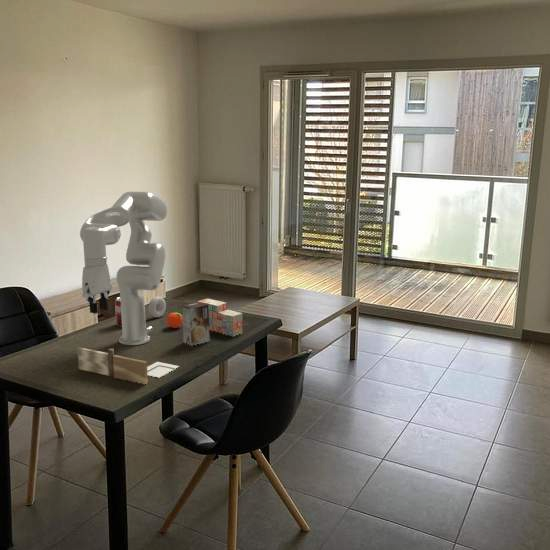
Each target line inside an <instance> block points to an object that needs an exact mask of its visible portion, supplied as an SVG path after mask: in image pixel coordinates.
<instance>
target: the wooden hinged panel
mask: <svg viewBox="0 0 550 550" xmlns="http://www.w3.org/2000/svg"><path fill="white" fill-rule="evenodd" d="M107 353H108V360H109V378H115V379H118V378H119V379H120V380H123V381H127V380H128V381H129V382H133V383H136V382H137V383H136V384H141V383H142V384H141V385H145V384H146V385H148V384H149V376H148V373H147V367H148V362H147V361H146V360H139V359H136V358H131V357H126V356H122V355H117V354H115V350H114V348H108V349H107ZM128 381H127V382H128ZM147 383H148V384H147Z"/></svg>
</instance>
